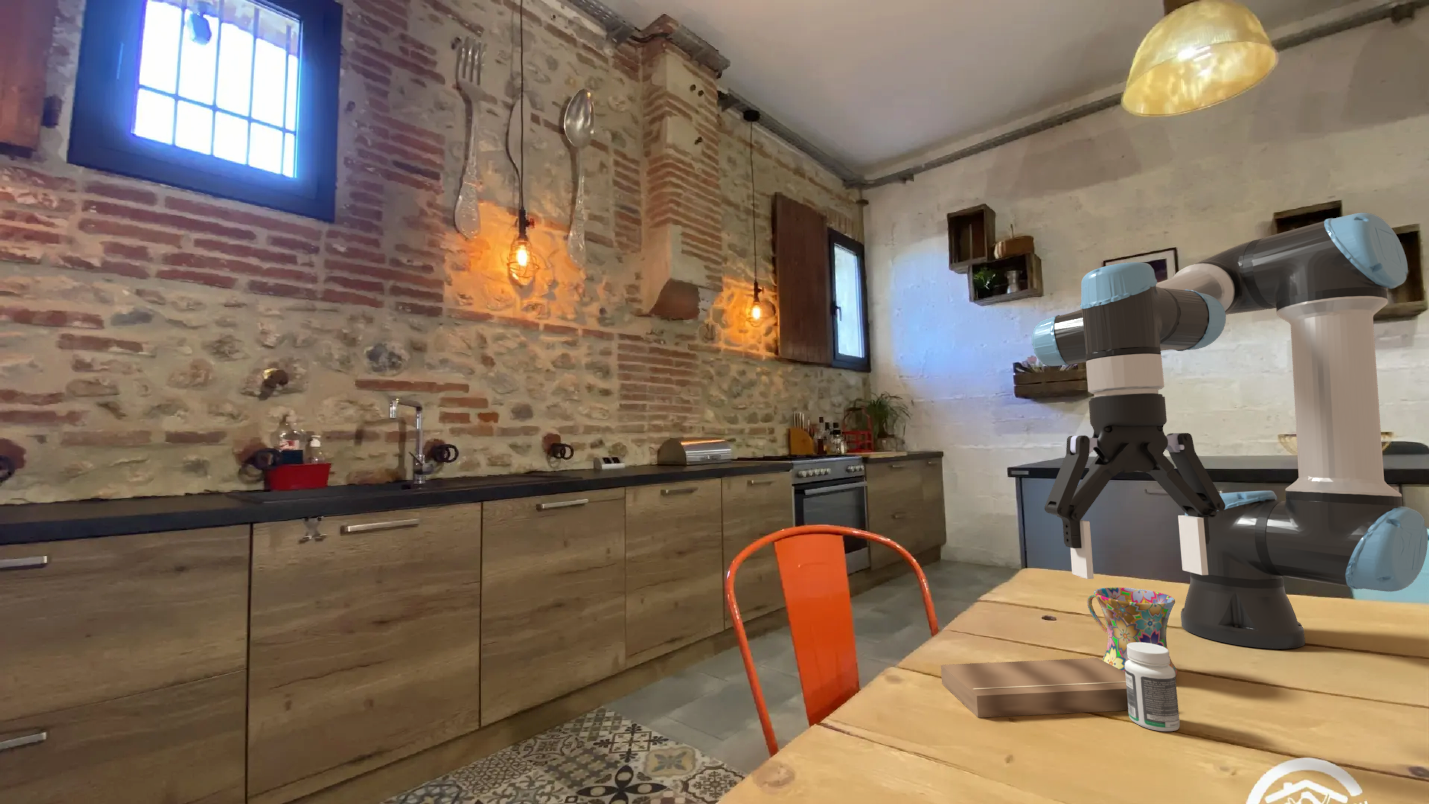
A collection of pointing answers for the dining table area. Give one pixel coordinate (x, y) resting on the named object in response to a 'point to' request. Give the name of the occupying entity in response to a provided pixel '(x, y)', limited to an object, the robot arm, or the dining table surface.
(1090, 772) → the dining table surface
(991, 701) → the board
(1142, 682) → the pill bottle
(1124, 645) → the mug
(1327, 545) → the robot arm
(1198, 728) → the dining table surface
